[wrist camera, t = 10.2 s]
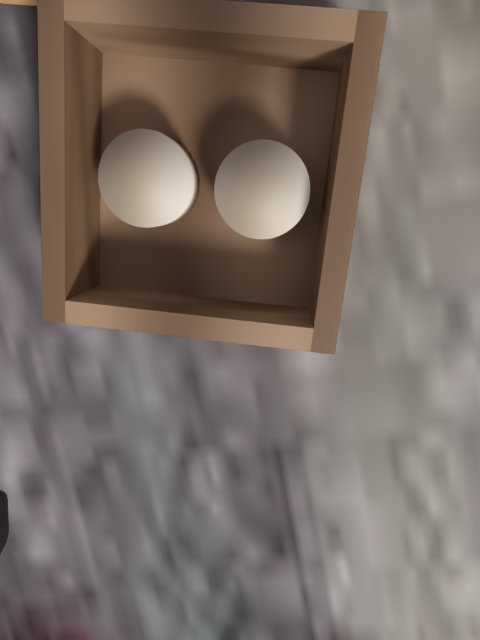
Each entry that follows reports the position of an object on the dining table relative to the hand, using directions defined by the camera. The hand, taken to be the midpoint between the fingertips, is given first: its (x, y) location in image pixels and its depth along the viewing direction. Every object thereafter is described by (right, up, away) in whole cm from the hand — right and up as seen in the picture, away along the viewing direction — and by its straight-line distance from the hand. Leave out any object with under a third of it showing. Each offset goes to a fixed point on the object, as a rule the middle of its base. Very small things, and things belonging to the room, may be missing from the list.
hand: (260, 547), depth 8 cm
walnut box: (-1, +9, +10) cm, 14 cm away
